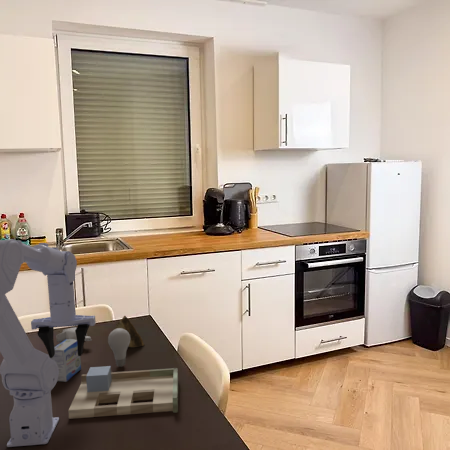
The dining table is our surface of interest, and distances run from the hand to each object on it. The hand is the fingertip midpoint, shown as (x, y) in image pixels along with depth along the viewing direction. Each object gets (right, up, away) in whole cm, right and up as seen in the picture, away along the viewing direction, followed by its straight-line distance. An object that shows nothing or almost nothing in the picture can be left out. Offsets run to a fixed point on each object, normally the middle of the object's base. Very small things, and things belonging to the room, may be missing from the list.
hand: (66, 355), depth 111 cm
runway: (+15, -10, -1) cm, 18 cm away
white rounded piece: (-10, -7, +35) cm, 37 cm away
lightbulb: (+9, -8, +17) cm, 21 cm away
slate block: (+8, -8, +1) cm, 11 cm away
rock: (+8, -6, +35) cm, 36 cm away
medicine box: (-4, -9, +13) cm, 17 cm away
